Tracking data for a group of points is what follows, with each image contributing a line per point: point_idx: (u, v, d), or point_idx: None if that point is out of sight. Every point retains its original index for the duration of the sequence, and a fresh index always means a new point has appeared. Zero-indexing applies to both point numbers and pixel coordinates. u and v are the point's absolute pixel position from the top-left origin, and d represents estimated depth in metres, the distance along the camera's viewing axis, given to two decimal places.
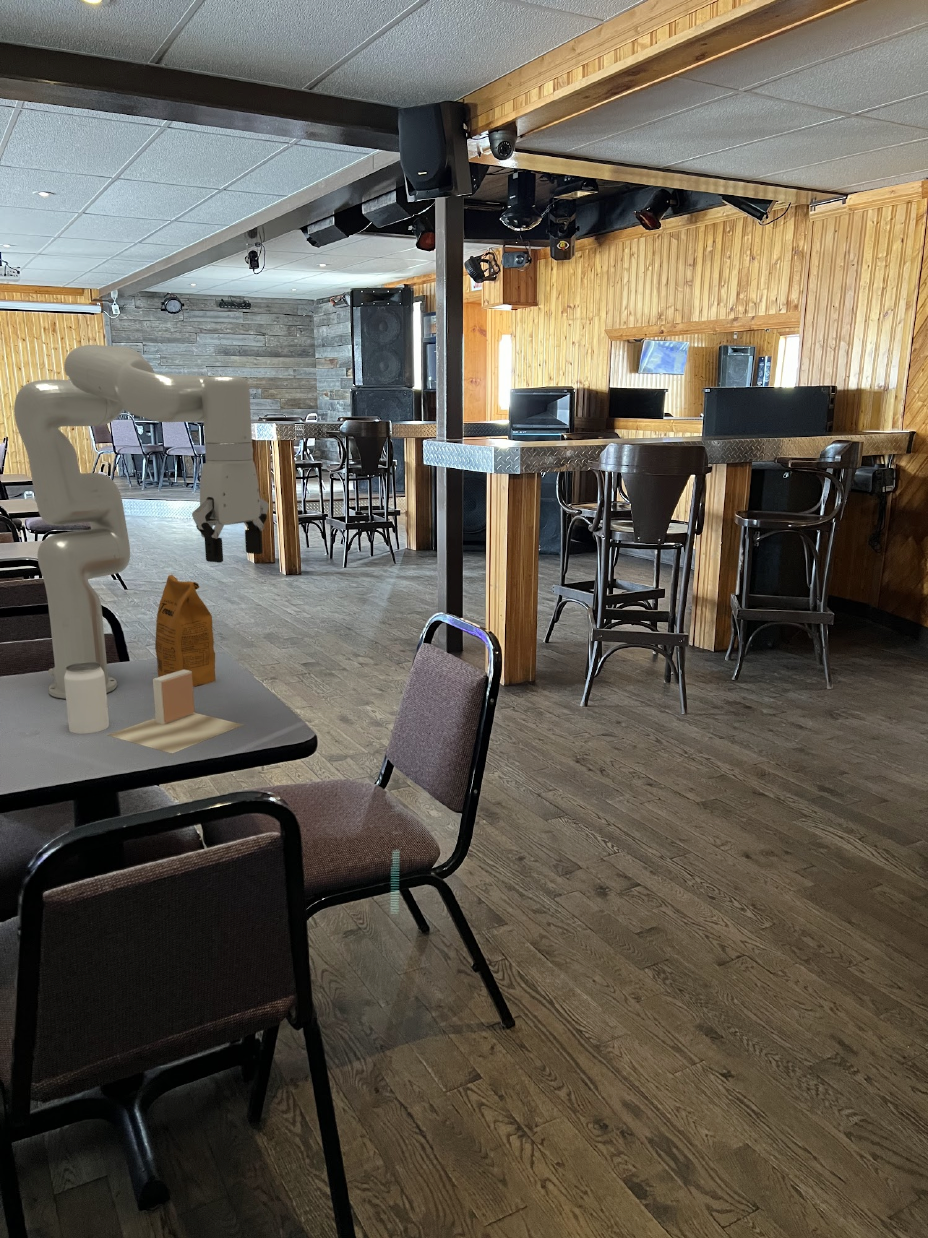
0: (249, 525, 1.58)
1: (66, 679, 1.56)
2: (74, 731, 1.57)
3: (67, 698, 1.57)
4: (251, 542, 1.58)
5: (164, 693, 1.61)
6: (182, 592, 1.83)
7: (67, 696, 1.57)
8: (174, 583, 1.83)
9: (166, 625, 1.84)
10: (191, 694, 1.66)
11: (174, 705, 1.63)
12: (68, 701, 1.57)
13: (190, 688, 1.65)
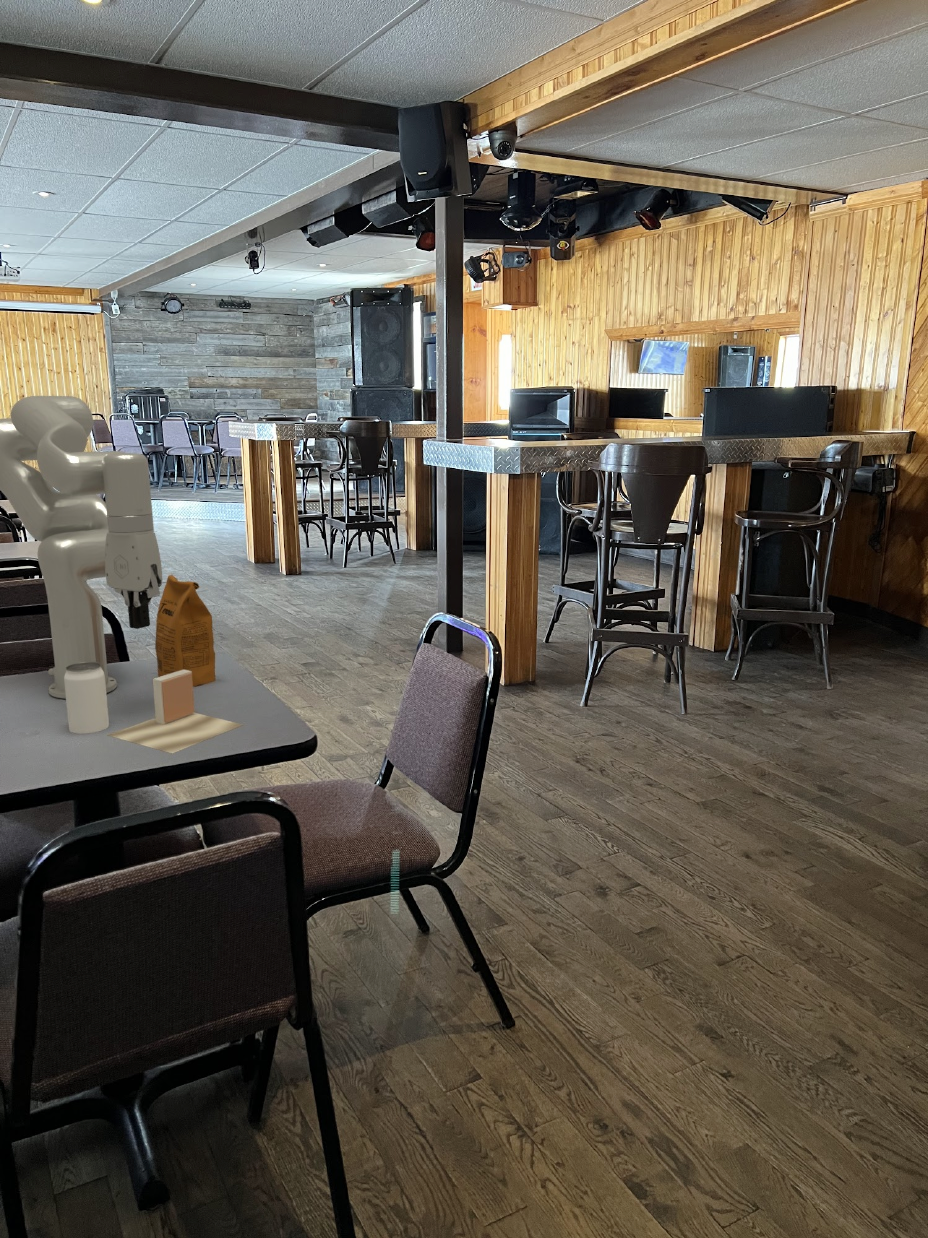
0: (130, 598, 1.64)
1: (66, 679, 1.56)
2: (74, 731, 1.57)
3: (67, 698, 1.57)
4: None
5: (164, 693, 1.61)
6: (182, 592, 1.83)
7: (67, 696, 1.57)
8: (174, 583, 1.83)
9: (166, 625, 1.84)
10: (191, 694, 1.66)
11: (174, 705, 1.63)
12: (68, 701, 1.57)
13: (190, 688, 1.65)
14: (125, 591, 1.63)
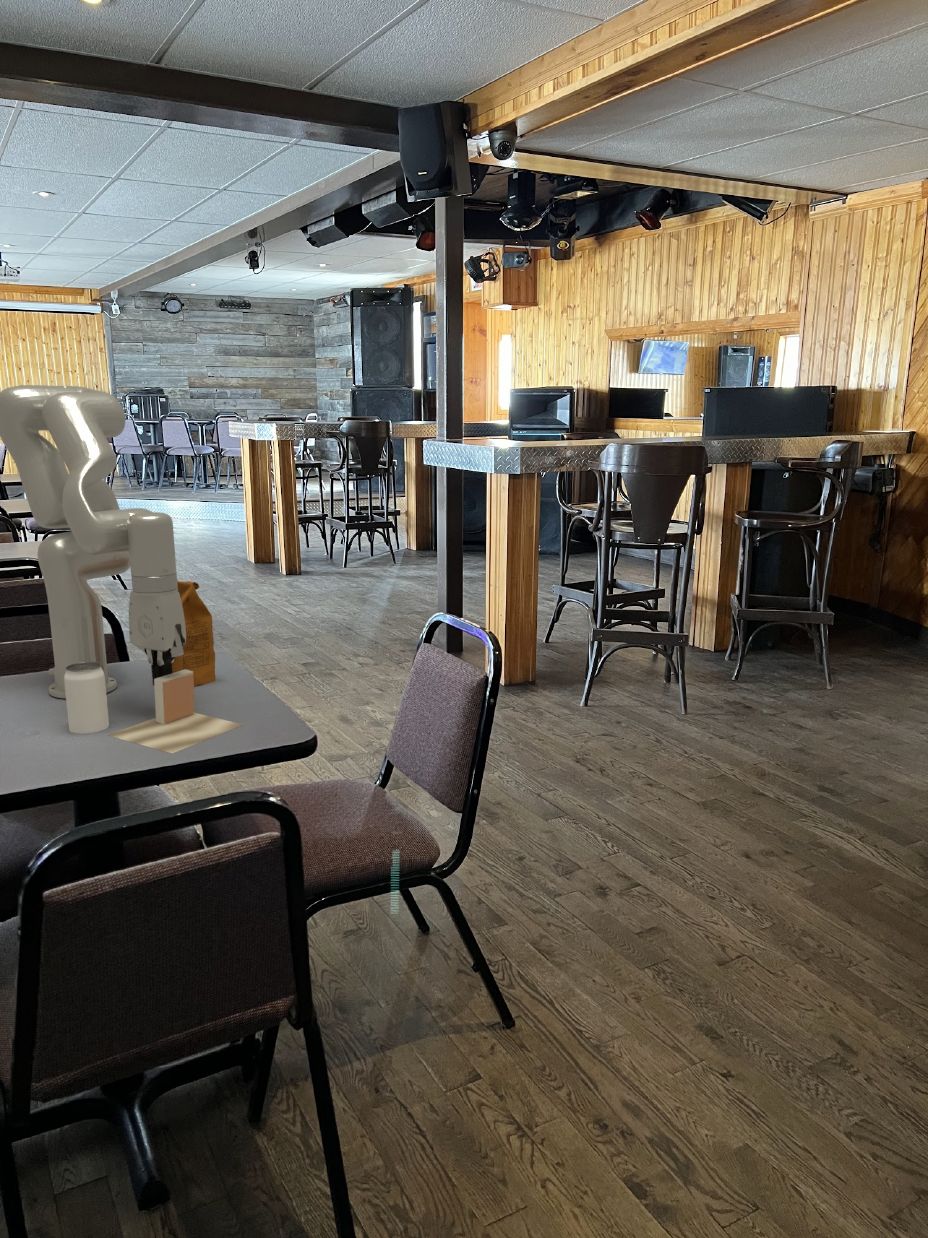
0: (154, 656, 1.64)
1: (66, 679, 1.56)
2: (74, 731, 1.57)
3: (67, 698, 1.57)
4: None
5: (165, 693, 1.60)
6: (182, 592, 1.83)
7: (67, 696, 1.57)
8: None
9: None
10: (192, 694, 1.66)
11: (175, 705, 1.63)
12: (68, 701, 1.57)
13: (191, 688, 1.65)
14: (148, 649, 1.63)
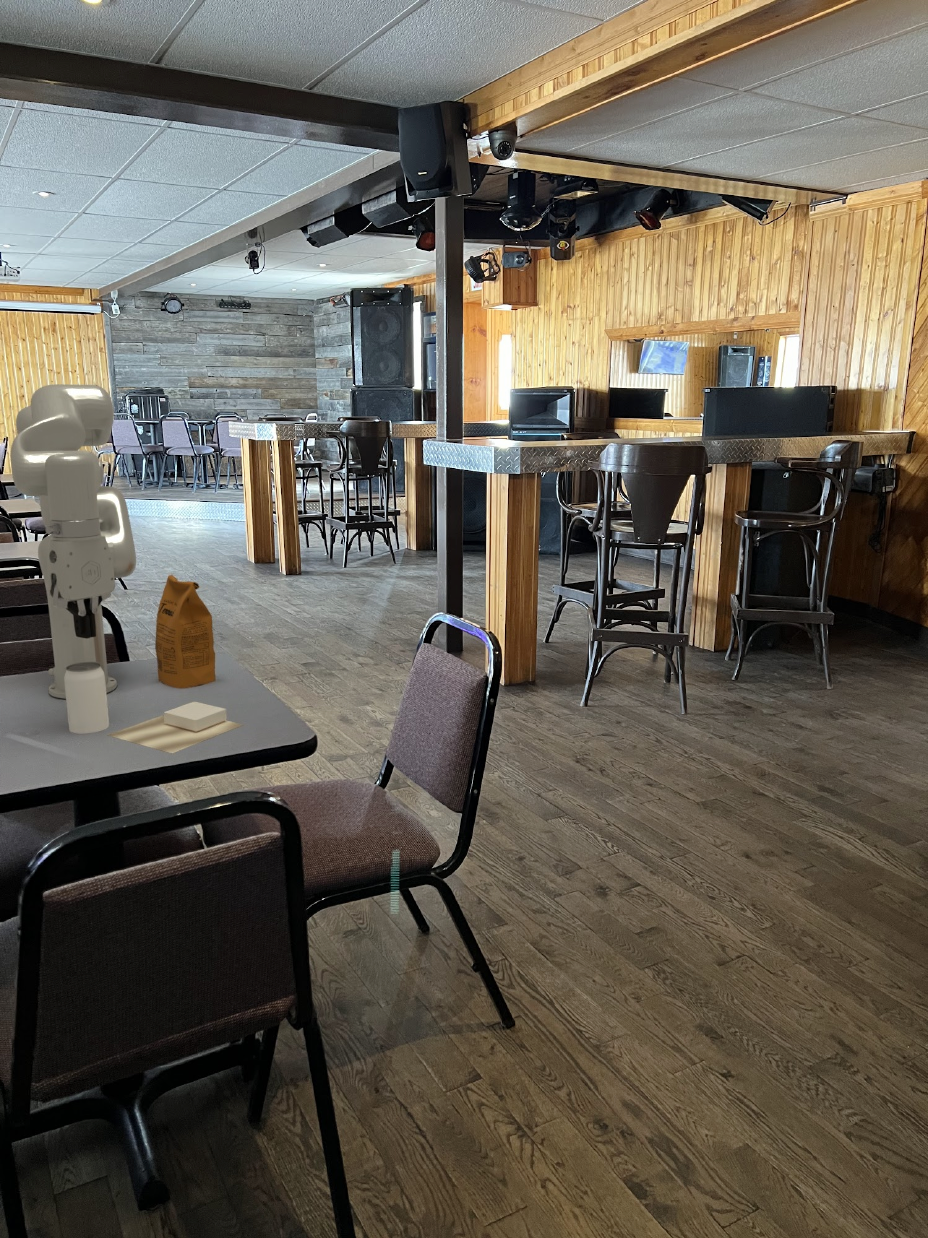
0: None
1: (66, 679, 1.56)
2: (74, 731, 1.57)
3: (67, 698, 1.57)
4: None
5: (188, 729, 1.59)
6: (182, 592, 1.83)
7: (67, 696, 1.57)
8: (174, 583, 1.83)
9: (166, 625, 1.84)
10: None
11: None
12: (68, 701, 1.57)
13: None
14: (80, 601, 1.54)
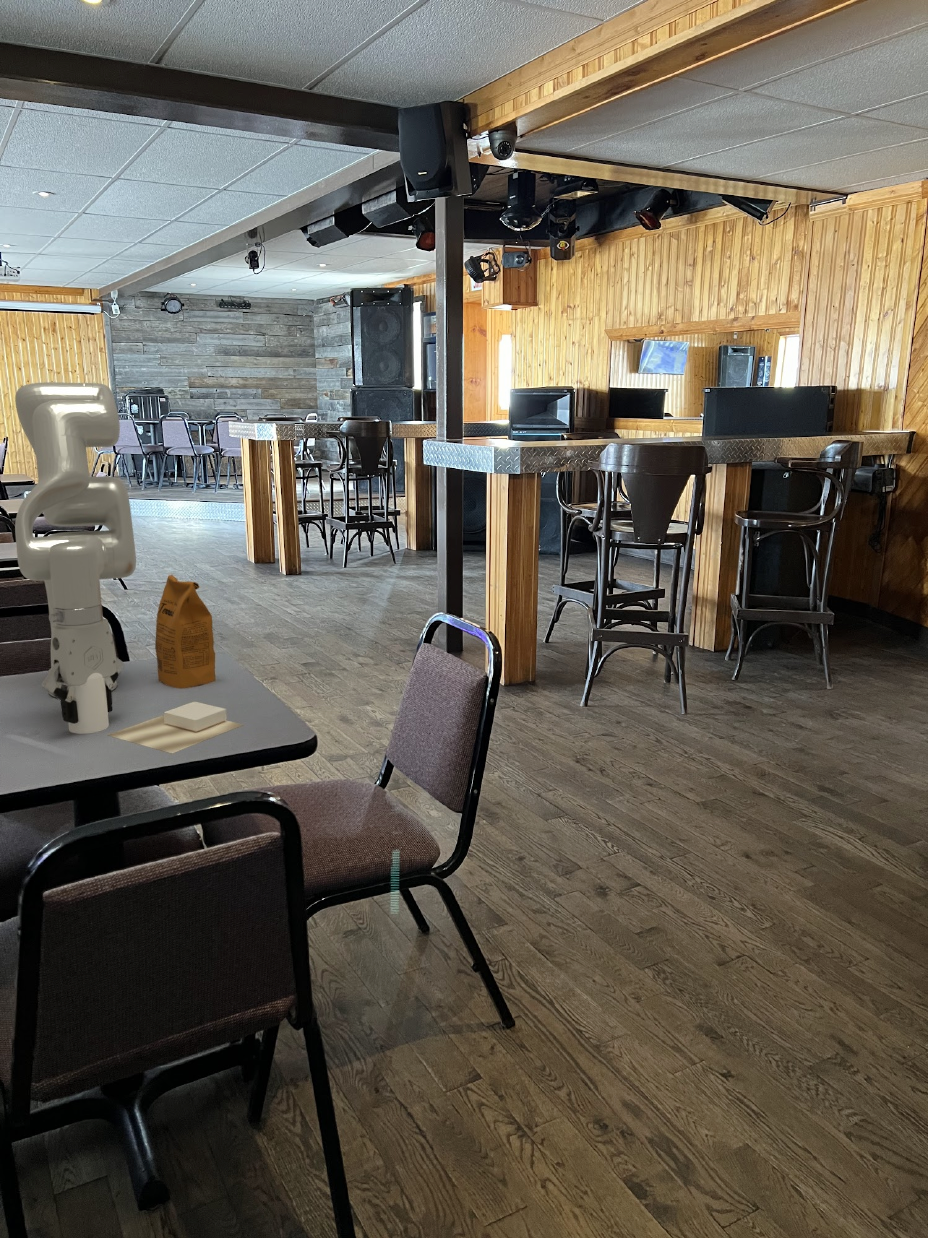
0: None
1: None
2: (74, 731, 1.57)
3: None
4: None
5: (188, 729, 1.59)
6: (182, 592, 1.83)
7: None
8: (174, 583, 1.83)
9: (166, 625, 1.84)
10: None
11: None
12: None
13: None
14: (73, 687, 1.55)
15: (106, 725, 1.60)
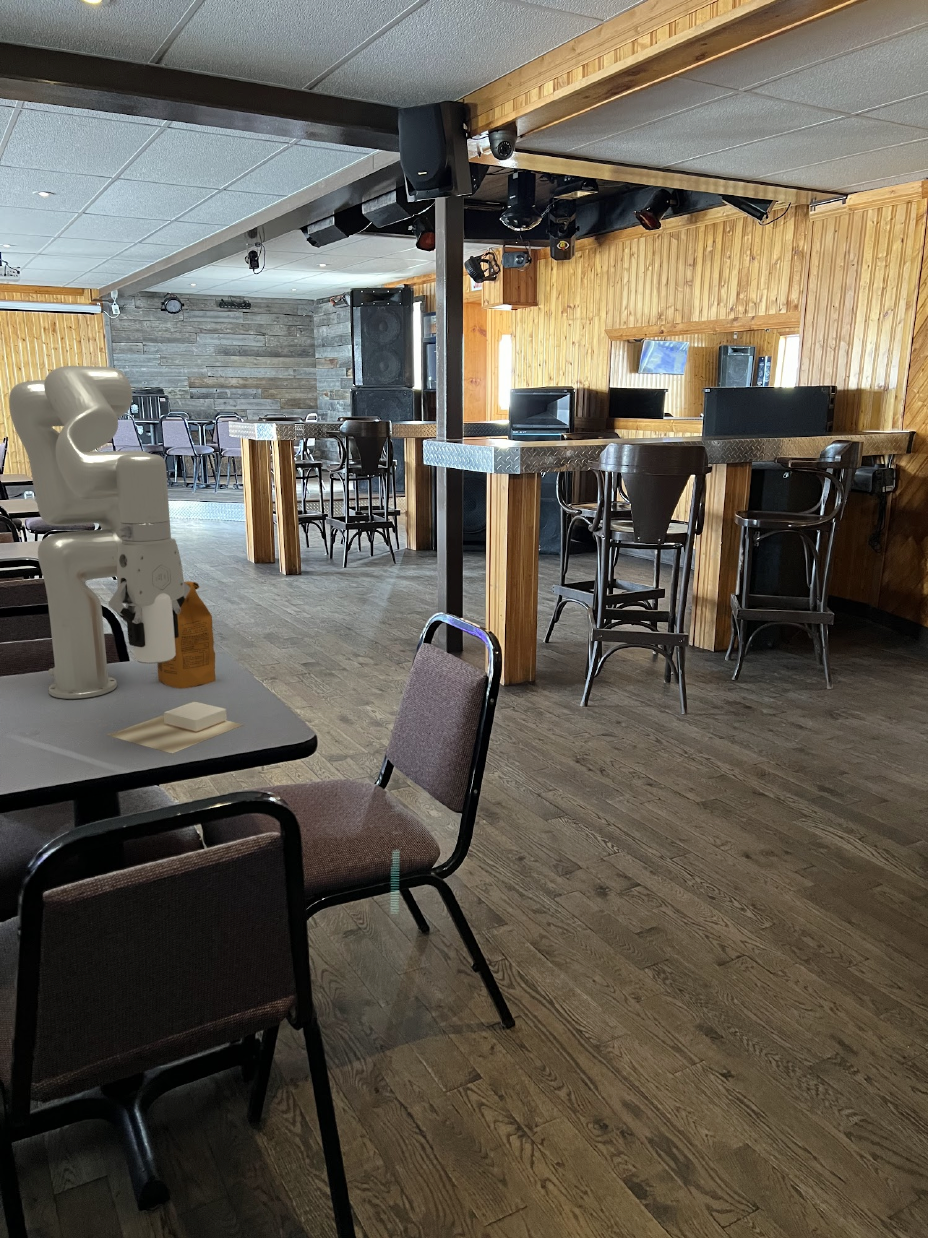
0: None
1: None
2: (140, 656, 1.49)
3: None
4: None
5: (188, 729, 1.59)
6: None
7: None
8: None
9: None
10: None
11: None
12: None
13: None
14: (140, 608, 1.47)
15: (173, 650, 1.51)
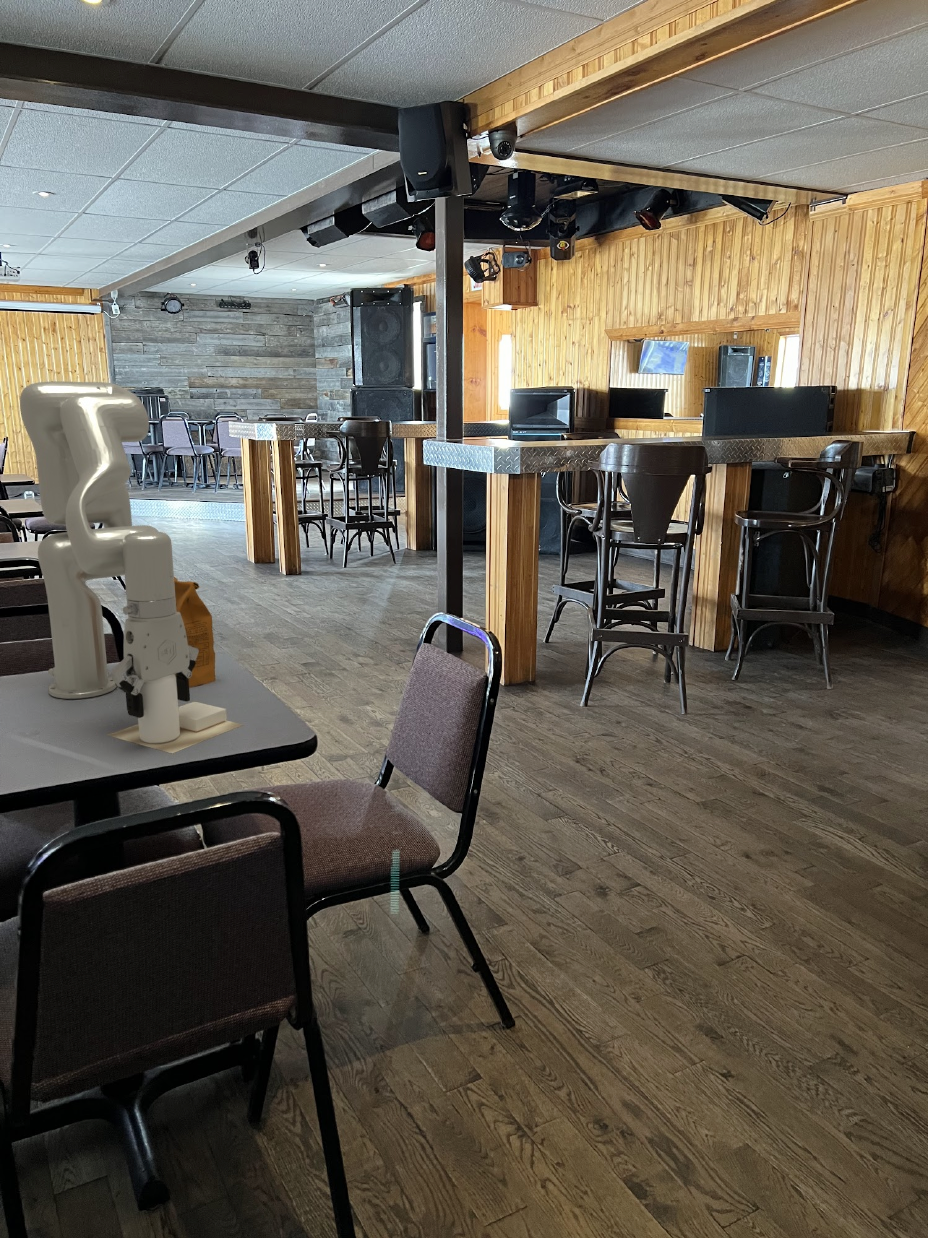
0: None
1: None
2: (145, 736, 1.52)
3: None
4: None
5: (188, 729, 1.59)
6: (182, 592, 1.83)
7: None
8: (174, 583, 1.83)
9: None
10: None
11: None
12: None
13: None
14: (142, 680, 1.48)
15: (177, 730, 1.54)
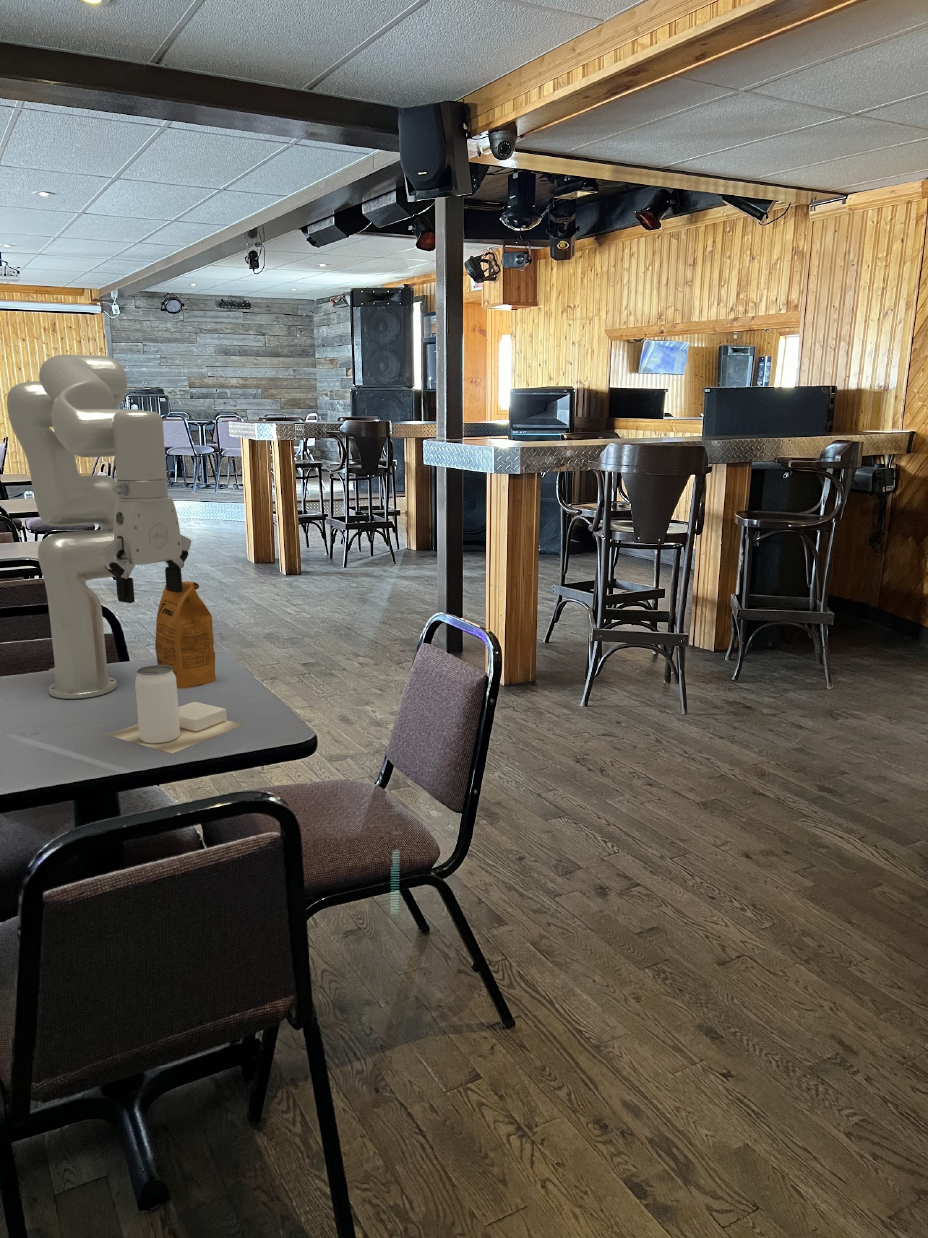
0: None
1: (138, 683, 1.50)
2: (145, 737, 1.52)
3: (138, 702, 1.51)
4: None
5: (188, 729, 1.59)
6: (182, 592, 1.83)
7: (138, 700, 1.51)
8: None
9: (166, 625, 1.84)
10: None
11: None
12: (139, 705, 1.51)
13: None
14: (132, 564, 1.44)
15: (177, 730, 1.54)
